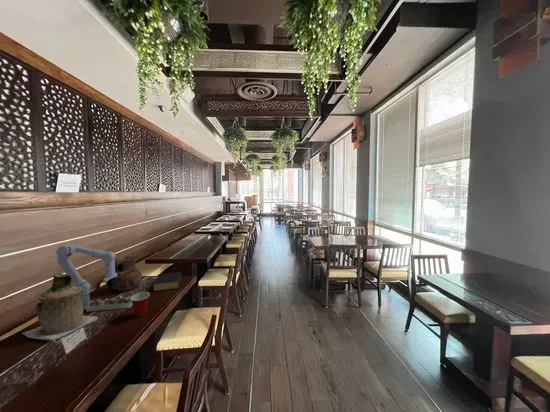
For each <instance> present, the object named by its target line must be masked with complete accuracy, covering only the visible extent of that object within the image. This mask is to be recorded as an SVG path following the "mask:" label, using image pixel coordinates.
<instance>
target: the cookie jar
mask: <svg viewBox="0 0 550 412" xmlns="http://www.w3.org/2000/svg"><path fill="white" fill-rule="evenodd" d="M52 277H53V278H52V283H51V287H50V288H48V289H47V290H46V291H43V292H42V293H41V294H40V295H39V297H38V300H39V301H40V302H37V303H36V305H35V307H34V309H35V313H36V315H38V316H37V317H38V318H37V321H38V323H39V324H40V326H37V327H35V328H32V329H30V330H26V331H24V332H21V335H24V336H25V337H27V338H29V339H35V340H42V341H50V342H53V343H56V340H58V339H60V338H61V339H62V337H65V336H67V335H69V334H71V333H73V332H75V331H77V330H79V329H81V328H83V327H85V326H87V325H90V324H92V323H94V322H97V320H98V316H93V315H91V316H90V315H84V310H83V302H82V299H81V294H80V292H82V288H81V287H75V286H72V282H71V280H72V279H71V276H70V275H66V273H59V272H58V273H56V274H52Z"/></svg>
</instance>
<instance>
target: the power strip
mask: <svg viewBox="0 0 550 412" xmlns="http://www.w3.org/2000/svg"><path fill="white" fill-rule="evenodd" d="M128 298H129V300H128V301H123V300H122V301H119V298H115V300H114V301H113V302H110V303H109V302H107V303H105V302H104V300H101V301H100V302H98V303H96V304H95V303H93V304H92V305H90V304H89V305H88V306H86V309H85V312H86V313H89V312H100V311H110V310H112V311H113V310H121V309H129V308H131V307H132V306H133V304H132V301H131V300H130V297H128Z"/></svg>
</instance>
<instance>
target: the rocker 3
mask: <svg viewBox="0 0 550 412" xmlns="http://www.w3.org/2000/svg"><path fill="white" fill-rule="evenodd" d="M129 298H130V297H127V296H122V295H121V296H120V297H119V298H118V299H119V301H122V300H123V301H128V300H129Z"/></svg>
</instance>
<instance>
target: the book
mask: <svg viewBox="0 0 550 412" xmlns="http://www.w3.org/2000/svg"><path fill="white" fill-rule="evenodd" d="M181 280H182V272H181V271H176V272H166V273H159V275H158V276H157V278H156V279H155V281H153V292H157V291H159V292H160V291H166V290H173V289H175V290H176V289H178V288H179V285H180V282H181Z"/></svg>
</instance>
